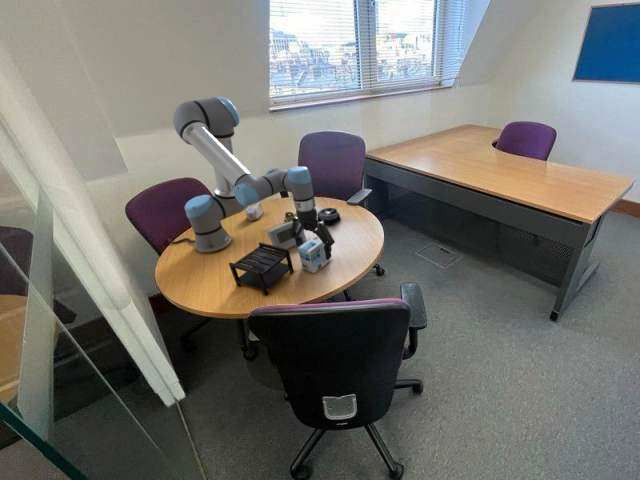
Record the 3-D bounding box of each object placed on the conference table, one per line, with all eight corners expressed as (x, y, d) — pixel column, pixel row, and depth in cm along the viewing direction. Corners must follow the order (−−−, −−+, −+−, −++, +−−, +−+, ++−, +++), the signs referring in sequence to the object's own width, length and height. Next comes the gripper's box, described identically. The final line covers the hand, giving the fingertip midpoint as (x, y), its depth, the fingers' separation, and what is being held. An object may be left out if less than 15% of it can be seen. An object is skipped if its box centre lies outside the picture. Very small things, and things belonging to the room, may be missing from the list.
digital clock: (275, 255, 138) (269, 234, 132) (269, 246, 145) (264, 226, 139) (309, 243, 145) (305, 223, 140) (302, 235, 152) (298, 216, 146)
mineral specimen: (253, 212, 177) (250, 202, 174) (265, 212, 177) (262, 202, 173) (242, 222, 167) (239, 212, 163) (255, 222, 166) (252, 212, 163)
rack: (237, 286, 121) (228, 263, 115) (266, 263, 133) (259, 242, 127) (266, 296, 115) (258, 272, 109) (294, 271, 127) (288, 249, 121)
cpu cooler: (341, 209, 162) (329, 217, 155) (342, 219, 165) (331, 227, 158) (326, 205, 167) (313, 213, 159) (327, 215, 170) (315, 223, 162)
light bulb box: (314, 274, 125) (309, 251, 119) (301, 269, 128) (297, 247, 123) (331, 260, 133) (327, 239, 127) (319, 256, 136) (315, 235, 130)
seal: (314, 216, 171) (287, 217, 172) (313, 208, 169) (286, 209, 170) (310, 223, 163) (282, 223, 163) (309, 214, 161) (280, 215, 161)
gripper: (273, 207, 119) (285, 253, 130) (327, 217, 109) (335, 266, 120) (286, 200, 124) (297, 244, 135) (339, 208, 115) (345, 256, 126)
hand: (315, 254), depth 128 cm, fingers open, 13 cm apart
